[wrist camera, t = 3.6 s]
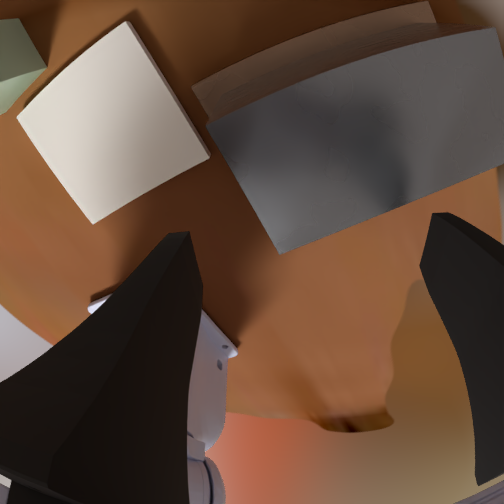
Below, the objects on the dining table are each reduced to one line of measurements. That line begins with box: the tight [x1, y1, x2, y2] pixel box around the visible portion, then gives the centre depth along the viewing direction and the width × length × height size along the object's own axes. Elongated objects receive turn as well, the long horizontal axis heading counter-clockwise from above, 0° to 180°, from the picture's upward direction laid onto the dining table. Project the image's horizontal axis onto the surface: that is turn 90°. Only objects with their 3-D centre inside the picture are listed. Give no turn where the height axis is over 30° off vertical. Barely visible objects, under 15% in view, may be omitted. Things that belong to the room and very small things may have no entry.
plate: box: [17, 21, 211, 224], centre depth 14 cm, size 8×8×1 cm
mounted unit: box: [191, 1, 504, 255], centre depth 11 cm, size 7×12×6 cm, turn 116°
